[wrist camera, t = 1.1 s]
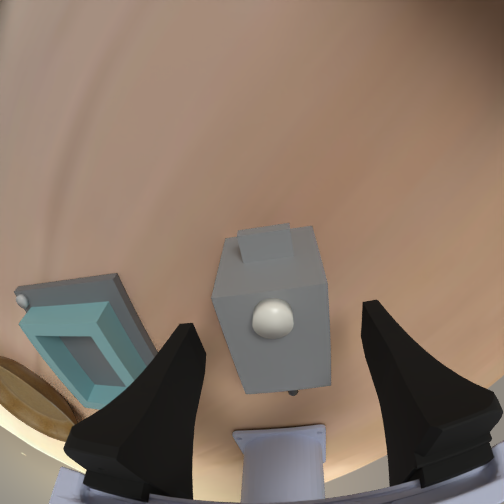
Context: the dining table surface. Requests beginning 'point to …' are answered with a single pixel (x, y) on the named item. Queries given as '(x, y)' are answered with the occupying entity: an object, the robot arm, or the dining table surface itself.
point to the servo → (275, 309)
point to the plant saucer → (34, 400)
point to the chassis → (87, 335)
